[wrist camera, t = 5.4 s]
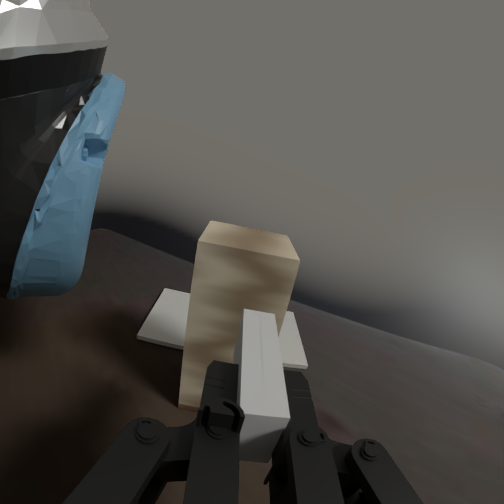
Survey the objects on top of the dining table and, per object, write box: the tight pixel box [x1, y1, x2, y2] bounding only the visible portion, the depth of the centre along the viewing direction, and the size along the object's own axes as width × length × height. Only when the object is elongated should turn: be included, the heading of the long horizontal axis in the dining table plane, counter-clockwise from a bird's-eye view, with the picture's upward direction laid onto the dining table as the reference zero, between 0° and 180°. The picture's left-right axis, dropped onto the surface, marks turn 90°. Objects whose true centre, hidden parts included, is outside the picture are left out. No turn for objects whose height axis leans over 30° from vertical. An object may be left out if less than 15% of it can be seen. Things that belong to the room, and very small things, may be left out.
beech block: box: [178, 221, 300, 412], centre depth 22 cm, size 6×6×14 cm
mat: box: [137, 288, 308, 369], centre depth 34 cm, size 18×12×1 cm, turn 91°
